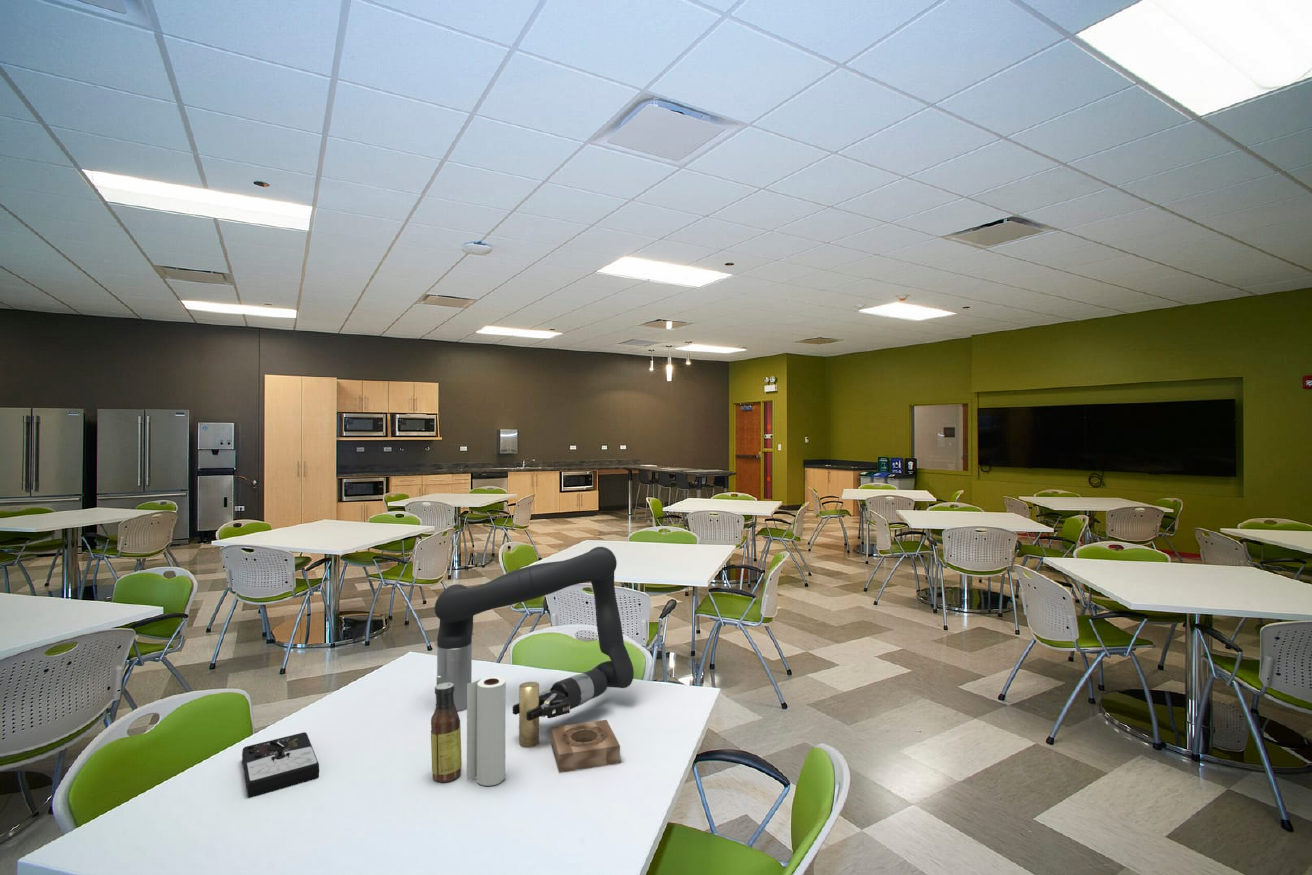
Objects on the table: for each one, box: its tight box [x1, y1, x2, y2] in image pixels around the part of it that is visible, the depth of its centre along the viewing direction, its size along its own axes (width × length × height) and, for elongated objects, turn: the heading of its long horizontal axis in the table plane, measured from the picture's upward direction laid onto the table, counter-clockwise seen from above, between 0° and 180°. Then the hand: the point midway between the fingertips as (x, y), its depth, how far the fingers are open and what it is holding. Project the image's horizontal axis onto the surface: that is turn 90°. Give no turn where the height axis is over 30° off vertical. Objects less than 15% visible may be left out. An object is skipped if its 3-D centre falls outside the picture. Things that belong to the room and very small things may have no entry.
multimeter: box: [241, 731, 320, 799], centre depth 138 cm, size 13×19×5 cm
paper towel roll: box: [466, 676, 507, 787], centre depth 135 cm, size 7×6×21 cm
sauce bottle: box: [430, 682, 463, 783], centre depth 136 cm, size 6×6×20 cm
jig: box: [550, 719, 621, 774], centre depth 146 cm, size 14×14×4 cm
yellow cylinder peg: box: [518, 681, 540, 749], centre depth 151 cm, size 5×5×14 cm
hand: (520, 713), depth 149 cm, fingers closed on yellow cylinder peg, 4 cm apart
